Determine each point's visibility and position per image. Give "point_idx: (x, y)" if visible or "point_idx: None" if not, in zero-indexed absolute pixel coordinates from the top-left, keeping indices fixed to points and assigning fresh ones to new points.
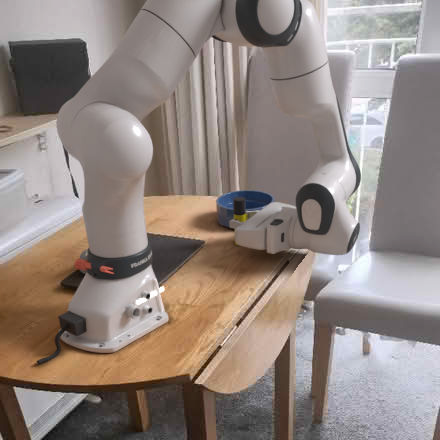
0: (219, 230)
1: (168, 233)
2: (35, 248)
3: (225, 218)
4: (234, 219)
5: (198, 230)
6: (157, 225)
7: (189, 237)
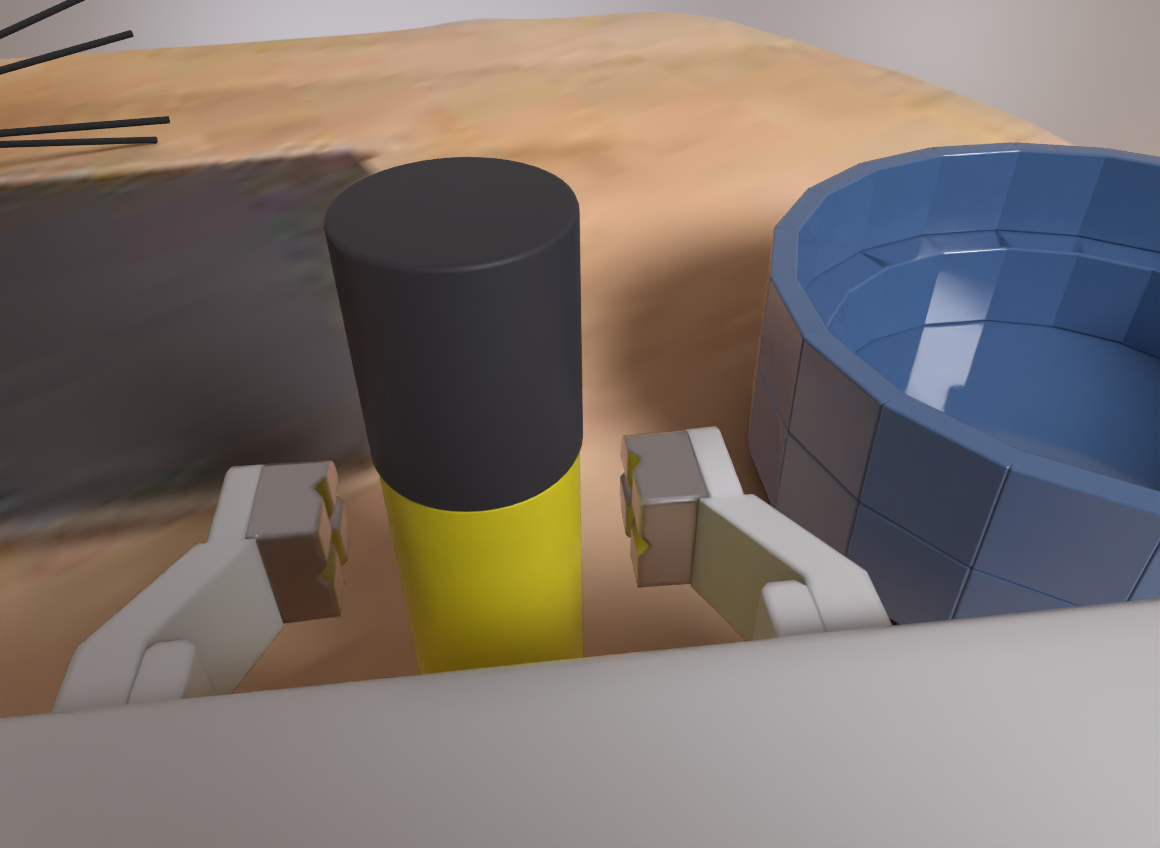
0: (679, 428)
1: None
2: None
3: (757, 360)
4: (294, 488)
5: None
6: None
7: None
